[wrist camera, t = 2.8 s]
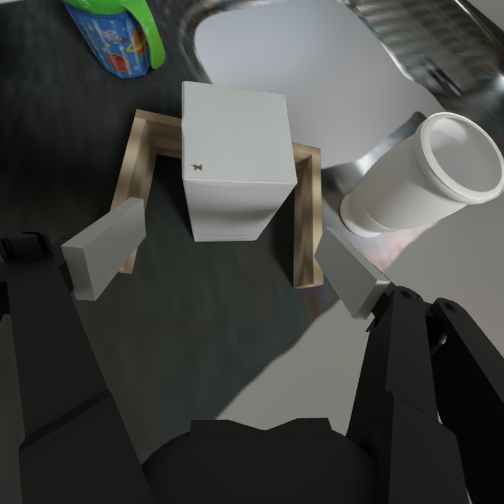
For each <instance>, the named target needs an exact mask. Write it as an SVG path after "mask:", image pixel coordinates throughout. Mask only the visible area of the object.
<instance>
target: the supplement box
mask: <svg viewBox="0 0 504 504" xmlns="http://www.w3.org/2000/svg"><path fill="white" fill-rule="evenodd" d="M182 179H183V184H184V190H185V195H186V200H187V205H188V211H189V216H190V221H191V226H192V232H193V237H194V241H251V240H256V239H257V238H258V237H259V235H260V234H261V232H262V231H263V230H264V228H265V227H266V226H267V224H268V223H269V221H270V220H271V219H272V217H273V216H274V214H275V213H276V212H277V210H278V209H279V208H280V206H281V205H282V203H283V202H284V201H285V199H286V198H287V197H288V195H289V194H290V192H291V191H292V189H293V188H294V187H295V185H296V184H297V177H296V170H295V163H294V156H293V149H292V142H291V136H290V129H289V121H288V115H287V109H286V102H285V96H284V95H279V94H274V93H268V92H260V91H250V90H244V89H236V88H230V87H224V86H217V85H211V84H205V83H198V82H189V81H184V82H183V83H182Z"/></svg>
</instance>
